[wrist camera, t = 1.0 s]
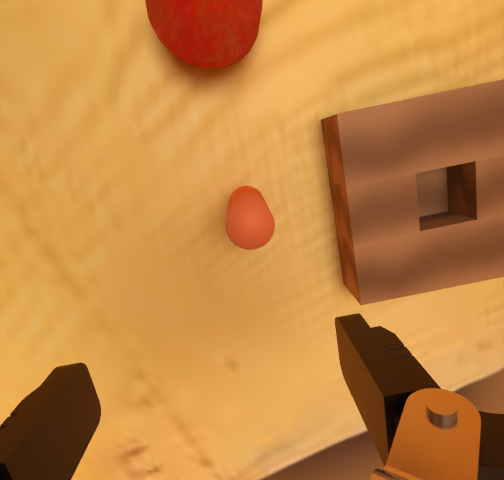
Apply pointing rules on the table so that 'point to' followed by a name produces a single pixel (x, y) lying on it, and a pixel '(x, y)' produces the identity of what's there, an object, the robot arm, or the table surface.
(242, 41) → the apple
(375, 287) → the bore block
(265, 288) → the table surface
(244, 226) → the dowel
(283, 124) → the table surface
